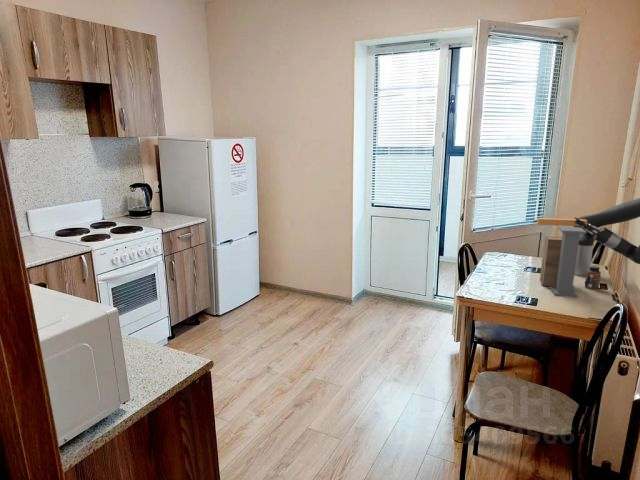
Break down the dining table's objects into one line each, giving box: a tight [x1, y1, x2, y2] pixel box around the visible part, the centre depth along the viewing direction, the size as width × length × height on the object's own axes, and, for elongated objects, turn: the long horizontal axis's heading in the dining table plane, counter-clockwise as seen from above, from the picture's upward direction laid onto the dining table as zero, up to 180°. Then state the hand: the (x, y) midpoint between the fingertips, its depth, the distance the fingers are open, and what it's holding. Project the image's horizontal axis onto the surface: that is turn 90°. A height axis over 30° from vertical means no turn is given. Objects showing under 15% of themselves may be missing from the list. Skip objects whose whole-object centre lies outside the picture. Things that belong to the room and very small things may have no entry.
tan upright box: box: [539, 234, 562, 288], centre depth 221 cm, size 10×12×25 cm
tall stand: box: [549, 225, 586, 298], centre depth 208 cm, size 10×10×32 cm
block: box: [536, 217, 587, 227], centre depth 216 cm, size 3×22×3 cm, turn 72°
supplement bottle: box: [584, 265, 602, 290], centre depth 217 cm, size 6×6×11 cm
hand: (575, 219), depth 214 cm, fingers closed on block, 3 cm apart
